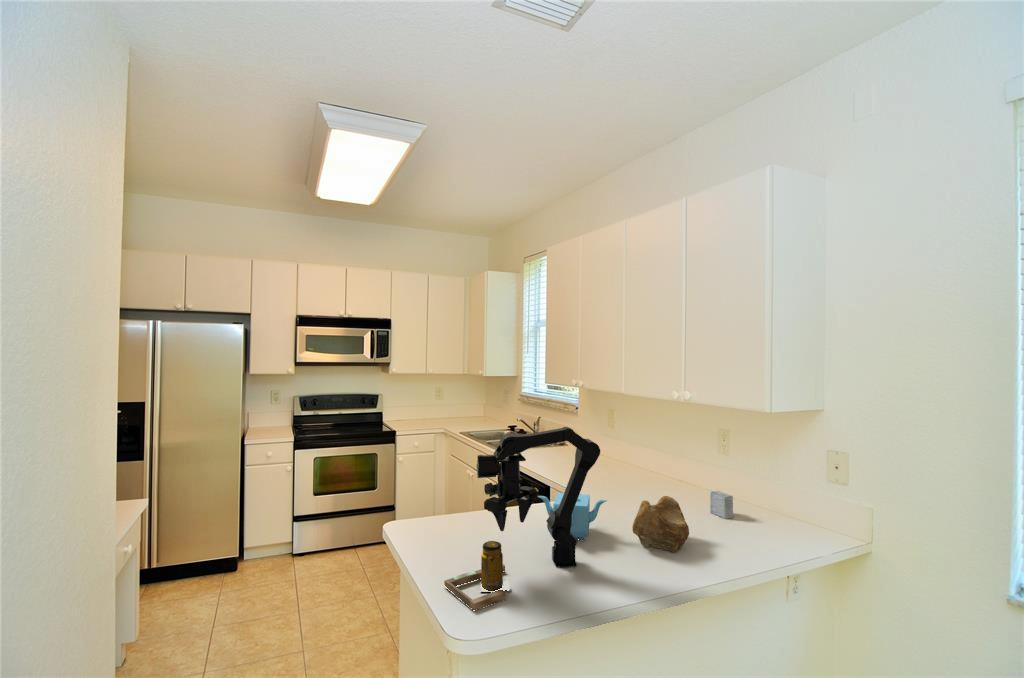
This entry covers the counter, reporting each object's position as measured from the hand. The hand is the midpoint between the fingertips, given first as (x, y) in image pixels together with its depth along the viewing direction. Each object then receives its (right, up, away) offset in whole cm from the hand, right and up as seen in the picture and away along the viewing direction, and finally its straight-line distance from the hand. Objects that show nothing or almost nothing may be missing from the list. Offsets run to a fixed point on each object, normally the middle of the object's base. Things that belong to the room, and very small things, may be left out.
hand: (512, 526), depth 155 cm
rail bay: (-7, -12, -15) cm, 20 cm away
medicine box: (+84, -13, +47) cm, 97 cm away
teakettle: (+22, -13, +27) cm, 37 cm away
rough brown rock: (+52, -13, +16) cm, 56 cm away
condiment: (-5, -12, -13) cm, 19 cm away
